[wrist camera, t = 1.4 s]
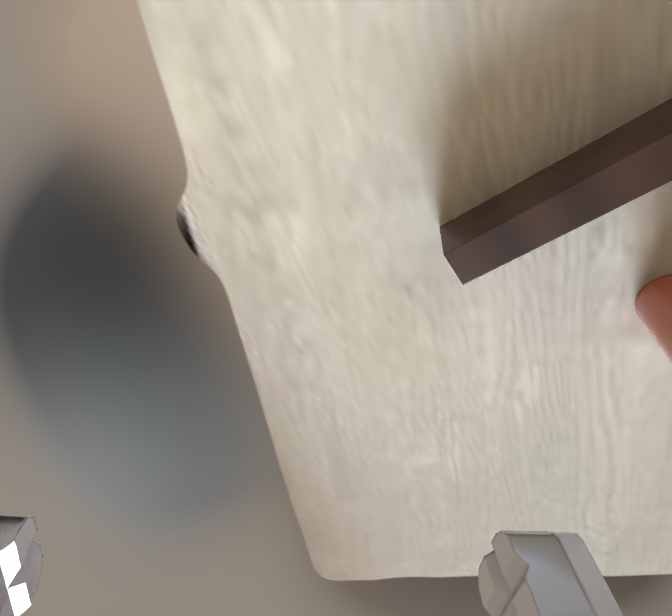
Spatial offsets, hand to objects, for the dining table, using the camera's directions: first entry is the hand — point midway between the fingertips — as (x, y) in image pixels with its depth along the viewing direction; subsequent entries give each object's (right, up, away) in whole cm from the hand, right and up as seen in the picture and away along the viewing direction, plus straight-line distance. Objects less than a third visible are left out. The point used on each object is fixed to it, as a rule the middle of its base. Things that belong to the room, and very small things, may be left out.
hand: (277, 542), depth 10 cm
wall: (+18, +14, +30) cm, 38 cm away
